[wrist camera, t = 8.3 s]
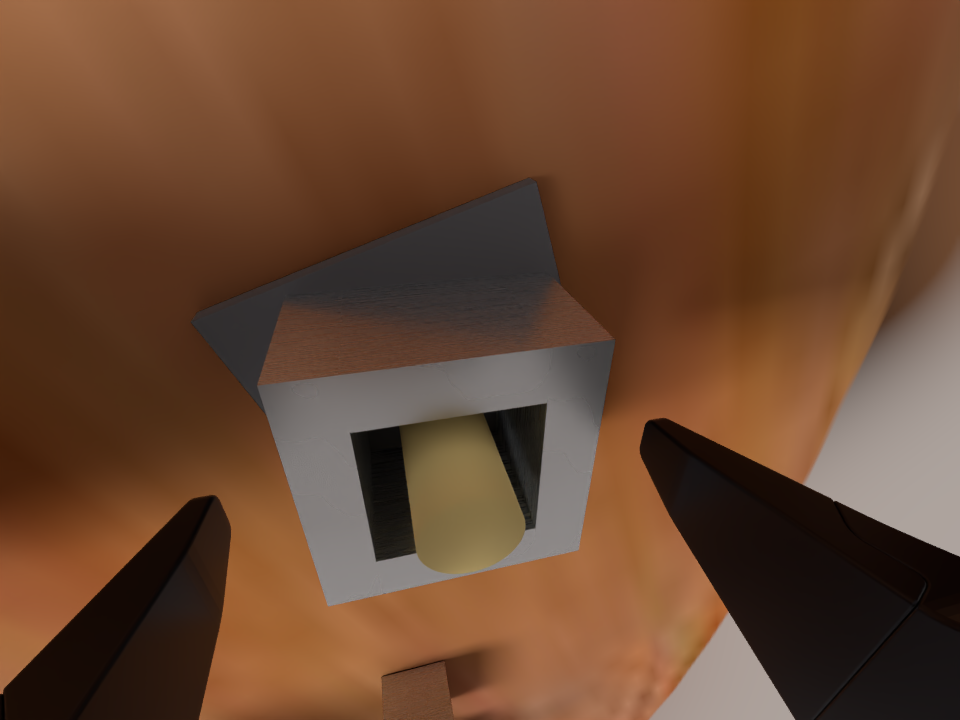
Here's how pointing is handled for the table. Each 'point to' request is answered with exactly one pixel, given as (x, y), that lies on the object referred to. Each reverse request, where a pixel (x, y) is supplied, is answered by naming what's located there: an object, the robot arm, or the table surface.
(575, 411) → the end link
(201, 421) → the table surface
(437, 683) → the link
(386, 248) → the grey peg holder
